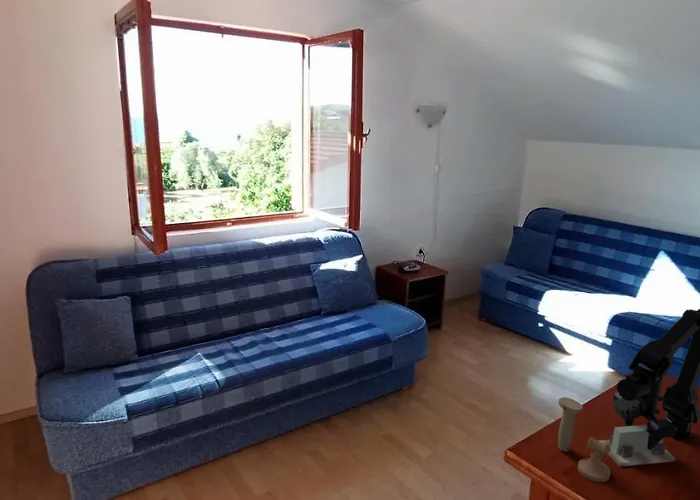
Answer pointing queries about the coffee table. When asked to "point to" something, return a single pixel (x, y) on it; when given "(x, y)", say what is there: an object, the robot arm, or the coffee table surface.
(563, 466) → the coffee table surface
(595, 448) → the door knob
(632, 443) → the cabinet door
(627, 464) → the cabinet panel
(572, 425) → the handle
